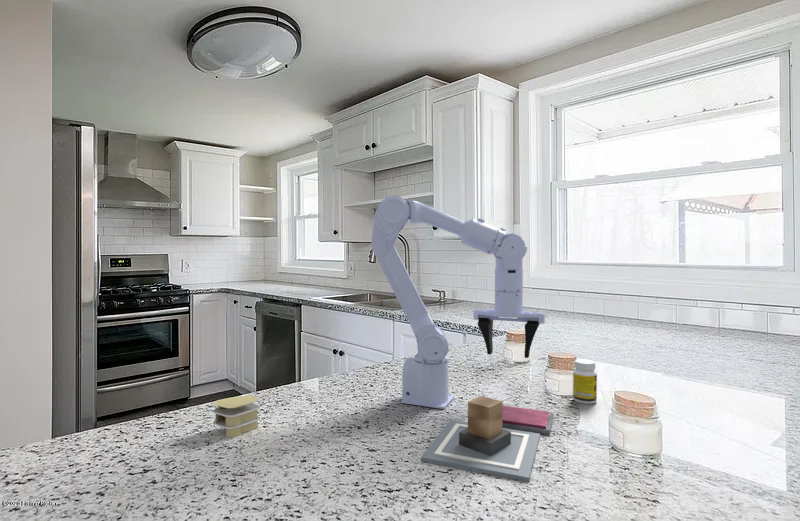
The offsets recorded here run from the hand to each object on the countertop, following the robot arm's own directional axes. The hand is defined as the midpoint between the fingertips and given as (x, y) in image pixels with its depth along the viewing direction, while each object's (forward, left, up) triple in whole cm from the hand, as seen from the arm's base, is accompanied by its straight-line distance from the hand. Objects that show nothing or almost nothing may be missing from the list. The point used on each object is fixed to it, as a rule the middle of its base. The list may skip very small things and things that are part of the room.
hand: (508, 355), depth 95 cm
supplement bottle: (+15, +7, -10) cm, 19 cm away
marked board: (0, -24, -10) cm, 26 cm away
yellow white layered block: (-42, -34, -10) cm, 55 cm away
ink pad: (+4, -10, -10) cm, 15 cm away
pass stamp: (0, -24, -9) cm, 26 cm away
